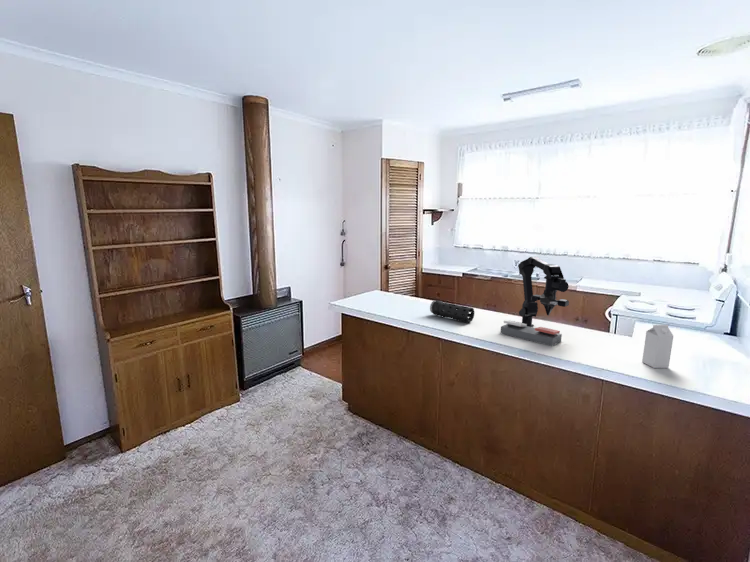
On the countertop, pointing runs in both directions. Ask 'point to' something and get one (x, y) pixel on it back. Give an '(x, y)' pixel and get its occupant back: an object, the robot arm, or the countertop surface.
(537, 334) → the switch box
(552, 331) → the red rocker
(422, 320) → the countertop surface
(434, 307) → the muzzle brake
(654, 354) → the milk carton
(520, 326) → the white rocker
